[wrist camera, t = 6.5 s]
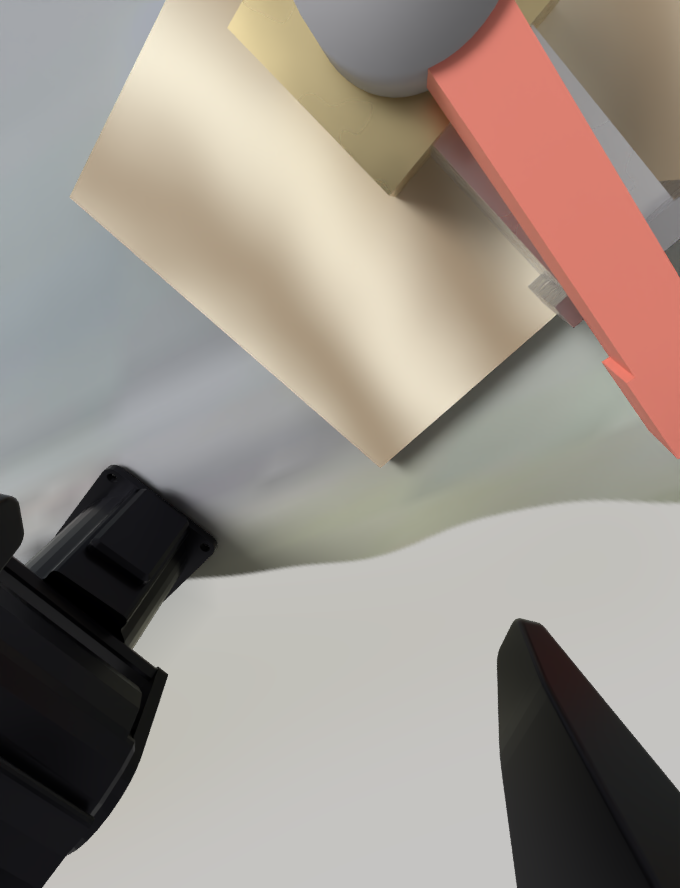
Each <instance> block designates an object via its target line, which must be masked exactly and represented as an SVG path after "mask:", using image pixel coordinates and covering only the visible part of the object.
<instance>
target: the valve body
mask: <svg viewBox="0 0 680 888" xmlns="http://www.w3.org/2000/svg"><path fill="white" fill-rule="evenodd" d="M559 1H560V0H515V2H516V4H517V5H518V7H519V9H520V10H521V12H522V14H523V15H524V17H525V19H526V20H527V22H528V24H529V25H530V27H531V29H532V30H533V32H534V34H535V35H536V37H537V39H538V41H539V42H540V44H541V46H542V47H543V49H544V51H545V52H546V54H547V56H548V57H549V59H550V61H551V62H552V64H553V66H554V67H555V69H556V71H557V72H558V74H559V76H560V77H561V79H562V81H563V82H564V84H565V86H566V88H567V89H568V91H569V93H570V94H571V96H572V98H573V99H574V101H575V103H576V104H577V106H578V108H579V109H580V111H581V113H582V114H583V116H584V118H585V119H586V121H587V123H588V124H589V126H590V128H591V129H592V131H593V133H594V135H595V136H596V138H597V140H598V141H599V143H600V145H601V146H602V148H603V150H604V151H605V153H606V155H607V156H608V158H609V160H610V161H611V163H612V165H613V166H614V168H615V170H616V171H617V173H618V175H619V176H620V178H621V180H622V182H623V183H624V185H625V187H626V188H627V190H628V192H629V193H630V195H631V197H632V198H633V200H634V202H635V203H636V205H637V207H638V208H639V210H640V212H641V213H642V215H643V217H644V218H645V220H646V222H647V223H648V225H649V227H650V229H651V230H652V232H653V234H654V235H655V237H656V239H657V240H658V242H659V244H660V245H661V247H662V249H663V250H664V251H666V250H667V249H668V248H669V247H670V246H672V245H673V244H674V243H675V242H676V241H677V240H679V239H680V179H679V180H668V181H658V180H657V178H656V177H655V176H654V175H653V173H652V172H651V171H650V170H649V168H648V167H647V166H646V165H645V163H644V162H643V161H642V160H641V159H640V157H639V156H638V155H637V154H636V152H635V151H634V150H633V149H632V147H631V146H630V145H629V144H628V142H627V141H626V140H625V139H624V137H623V136H622V135H621V134H620V132H619V131H618V130H617V129H616V127H615V126H614V125H613V124H612V122H611V121H610V120H609V119H608V117H607V116H606V115H605V114H604V112H603V111H602V110H601V109H600V107H599V106H598V105H597V104H596V103H595V101H594V100H593V99H592V98H591V96H590V95H589V94H588V93H587V91H586V90H585V89H584V88H583V86H582V85H581V84H580V83H579V81H578V80H577V79H576V78H575V76H574V75H573V74H572V73H571V71H570V70H569V69H568V68H567V66H566V65H565V64H564V63H563V61H562V60H561V59H560V58H559V56H558V55H557V54H556V53H555V51H554V50H553V49H552V48H551V46H550V45H549V44H548V43H547V42H546V40H545V39H544V38H543V37H542V35H541V34H540V33H539V32H538V30H537V28H538V27H539V25H540V24H541V23H542V22H543V21H544V19H545V18H546V17H547V16H548V15H549V13H550V12H551V11H552V10H553V9H554V7H555V6H556V5H557V3H558V2H559ZM227 28H228V29H229V30H230V31H231V32H232V33H233V34H234V35H235V36H236V38H237V39H238V40H239V41H240V42H241V43H242V44H243V45H244V46H245V47H246V48H247V49H248V50H249V51H250V52H251V53H252V54H253V55H254V56H255V57H256V58H257V59H258V60H259V61H260V62H261V63H262V64H263V66H264V67H265V68H266V69H267V70H268V71H269V72H270V73H271V74H272V75H273V76H274V77H275V78H276V79H277V80H278V81H279V82H280V83H281V84H282V85H283V86H284V87H285V88H286V89H287V90H288V91H289V92H290V93H291V95H292V96H293V97H294V98H295V99H296V100H297V101H298V102H299V103H300V104H301V105H302V106H303V107H304V108H305V109H306V110H307V111H308V112H309V113H310V114H311V115H312V116H313V117H314V118H315V119H316V120H317V121H318V123H319V124H320V125H321V126H322V127H323V128H324V129H325V130H326V131H327V132H328V133H329V134H330V135H331V136H332V137H333V138H334V139H335V140H336V141H337V142H338V143H339V144H340V145H341V146H342V147H343V148H344V149H345V151H346V152H347V153H348V154H349V155H350V156H351V157H352V158H353V159H354V160H355V161H356V162H357V163H358V164H359V165H360V166H361V167H362V168H363V169H364V170H365V171H366V172H367V173H368V174H369V175H370V176H371V177H372V179H373V180H374V181H375V182H376V183H377V184H378V185H379V186H380V187H381V188H382V189H383V190H384V191H385V192H386V193H387V194H388V195H389V196H393V197H396V196H397V195H398V194H399V193H400V192H401V190H402V189H403V188H404V187H405V186H406V184H407V183H408V182H409V181H410V180H411V179H412V177H413V176H414V175H415V174H416V173H417V171H418V170H419V169H420V168H421V167H422V165H423V164H424V163H425V162H426V161H427V159H428V158H429V157H430V156H431V157H432V158H433V159H434V160H435V161H436V162H437V163H438V164H439V165H440V166H441V168H442V169H443V170H444V171H445V172H446V173H447V174H448V175H449V176H450V177H451V178H452V180H453V181H454V182H455V183H456V184H457V185H458V186H459V187H460V188H461V189H462V190H463V192H464V193H465V194H466V195H467V196H468V197H469V198H470V199H471V200H472V201H473V202H474V203H475V205H476V206H477V207H478V208H479V209H480V210H481V211H482V212H483V213H484V214H485V215H486V217H487V218H488V219H489V220H490V221H491V222H492V223H493V224H494V225H495V226H496V227H497V228H498V230H499V231H500V232H501V233H502V234H503V235H504V236H505V237H506V238H507V239H508V240H509V242H510V243H511V244H512V245H513V246H514V247H515V248H516V249H517V250H518V251H519V252H520V253H521V255H522V256H523V257H524V258H525V259H526V260H527V261H528V262H529V263H530V264H531V265H532V267H533V268H534V269H535V270H536V271H537V272H538V273H539V274H540V276H539V277H538V278H536V279H535V280H534V281H533V282H532V283H531V284H530V285H529V286H528V288H529V289H530V290H531V291H532V292H533V293H534V294H535V295H536V296H537V297H538V298H539V299H540V300H541V302H542V303H543V304H545V305H546V306H547V307H548V308H550V309H551V310H552V311H553V312H554V313H556V314H557V315H558V316H559V317H561V318H562V319H563V320H564V321H566V322H567V323H568V324H569V325H571V326H572V327H573V328H574V327H575V326H576V325H578V324H579V323H580V322H581V321H582V320H584V319H583V317H582V316H581V314H580V313H579V311H578V310H577V308H576V307H575V305H574V304H573V302H572V301H571V299H570V298H569V297H568V295H567V294H566V292H565V291H564V289H563V288H562V286H561V285H560V283H559V282H558V280H557V279H556V277H555V276H554V274H553V273H552V271H551V270H550V269H549V267H548V266H547V264H546V263H545V261H544V260H543V258H542V257H541V255H540V254H539V252H538V251H537V249H536V248H535V246H534V245H533V243H532V242H531V240H530V239H529V238H528V236H527V235H526V233H525V232H524V230H523V229H522V227H521V226H520V224H519V223H518V221H517V220H516V218H515V217H514V215H513V214H512V212H511V211H510V210H509V208H508V207H507V205H506V204H505V202H504V201H503V199H502V198H501V196H500V195H499V193H498V192H497V190H496V189H495V187H494V186H493V184H492V183H491V182H490V180H489V179H488V177H487V176H486V174H485V173H484V171H483V170H482V168H481V167H480V165H479V164H478V162H477V161H476V159H475V158H474V156H473V155H472V154H471V152H470V151H469V149H468V148H467V146H466V145H465V143H464V142H463V140H462V139H461V137H460V136H459V134H458V133H457V131H456V130H455V128H454V127H453V125H452V124H451V123H450V121H449V120H448V118H447V117H446V115H445V114H444V112H443V111H442V109H441V108H440V106H439V105H438V103H437V102H436V100H435V99H434V97H433V96H432V95H431V93H430V92H429V90H428V91H426V92H423V93H420V94H417V95H413V96H408V97H397V98H391V97H383V96H378V95H375V94H371V93H368V92H366V91H364V90H362V89H360V88H358V87H356V86H355V85H353V84H352V83H351V82H349V81H348V80H347V79H346V78H344V77H343V76H342V75H341V74H340V73H339V72H338V71H337V70H336V68H335V67H334V66H333V65H332V64H331V62H330V61H329V59H328V58H327V56H326V55H325V53H324V51H323V50H322V48H321V47H320V45H319V43H318V42H317V40H316V39H315V37H314V35H313V34H312V32H311V31H310V29H309V27H308V26H307V24H306V23H305V21H304V20H303V18H302V16H301V15H300V13H299V11H298V9H297V6H296V4H295V2H294V0H242V2H241V4H240V6H239V8H238V9H237V11H236V13H235V15H234V17H233V18H232V20H231V22H230V24H229V26H228V27H227Z"/></svg>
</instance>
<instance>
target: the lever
mask: <svg viewBox="0 0 680 888" xmlns="http://www.w3.org/2000/svg"><path fill="white" fill-rule="evenodd" d="M294 2H295V4H296V6H297V9H298V11H299V13H300V15H301V16H302V18H303V20H304V21H305V23H306V24H307V26H308V27H309V29H310V31H311V32H312V34H313V35H314V37H315V39H316V40H317V42H318V43H319V45H320V47H321V48H322V50H323V51H324V53H325V55H326V56H327V58H328V59H329V61H330V62H331V64H332V65H333V66H334V67H335V68H336V70H337V71H338V72H339V73H340V74H341V75H342V76H343V77H344V78H346V79H347V80H348V81H349V82H351V83H352V84H353V85H355V86H356V87H358V88H360V89H362V90H364V91H366V92H368V93H371V94H375V95H378V96H383V97H391V98H397V97H408V96H413V95H417V94H420V93H423V92H426V91H428V90H429V92H430V93H431V95H432V96H433V97H434V99H435V100H436V102H437V103H438V105H439V106H440V108H441V109H442V111H443V112H444V114H445V115H446V117H447V118H448V120H449V121H450V123H451V124H452V125H453V127H454V128H455V130H456V131H457V133H458V134H459V136H460V137H461V139H462V140H463V142H464V143H465V145H466V146H467V148H468V149H469V151H470V152H471V154H472V155H473V156H474V158H475V159H476V161H477V162H478V164H479V165H480V167H481V168H482V170H483V171H484V173H485V174H486V176H487V177H488V179H489V180H490V182H491V183H492V184H493V186H494V187H495V189H496V190H497V192H498V193H499V195H500V196H501V198H502V199H503V201H504V202H505V204H506V205H507V207H508V208H509V210H510V211H511V212H512V214H513V215H514V217H515V218H516V220H517V221H518V223H519V224H520V226H521V227H522V229H523V230H524V232H525V233H526V235H527V236H528V238H529V239H530V240H531V242H532V243H533V245H534V246H535V248H536V249H537V251H538V252H539V254H540V255H541V257H542V258H543V260H544V261H545V263H546V264H547V266H548V267H549V269H550V270H551V271H552V273H553V274H554V276H555V277H556V279H557V280H558V282H559V283H560V285H561V286H562V288H563V289H564V291H565V292H566V294H567V295H568V297H569V298H570V299H571V301H572V302H573V304H574V305H575V307H576V308H577V310H578V311H579V313H580V314H581V316H582V317H583V319H584V320H585V322H586V323H587V325H588V326H589V327H590V329H591V330H592V332H593V333H594V335H595V336H596V338H597V339H598V341H599V342H600V344H601V345H602V347H603V348H604V350H605V351H606V353H607V354H608V356H609V357H608V358H607V359H605V360H604V361H602V363H603V364H604V366H605V367H606V369H607V370H608V372H609V373H610V375H611V376H612V377H613V379H614V380H615V382H616V383H617V385H618V386H619V388H620V389H621V391H622V392H623V393H624V395H625V396H626V398H627V399H628V401H629V402H630V404H631V405H632V407H633V408H634V410H635V411H636V412H637V414H638V415H639V417H640V418H641V420H642V421H643V423H644V424H645V426H646V427H647V428H648V430H649V431H650V432H651V433H652V434H653V435H654V436H655V437H656V438H657V439H658V440H659V441H660V442H661V443H662V444H663V445H664V446H665V447H666V448H667V449H668V450H669V451H670V452H671V453H672V454H673V455H674V456H675V457H676V458H677V459H680V277H679V276H678V274H677V272H676V270H675V269H674V267H673V265H672V264H671V262H670V260H669V259H668V257H667V255H666V254H665V252H664V250H663V249H662V247H661V245H660V244H659V242H658V240H657V239H656V237H655V235H654V234H653V232H652V230H651V229H650V227H649V225H648V223H647V222H646V220H645V218H644V217H643V215H642V213H641V212H640V210H639V208H638V207H637V205H636V203H635V202H634V200H633V198H632V197H631V195H630V193H629V192H628V190H627V188H626V187H625V185H624V183H623V182H622V180H621V178H620V176H619V175H618V173H617V171H616V170H615V168H614V166H613V165H612V163H611V161H610V160H609V158H608V156H607V155H606V153H605V151H604V150H603V148H602V146H601V145H600V143H599V141H598V140H597V138H596V136H595V135H594V133H593V131H592V129H591V128H590V126H589V124H588V123H587V121H586V119H585V118H584V116H583V114H582V113H581V111H580V109H579V108H578V106H577V104H576V103H575V101H574V99H573V98H572V96H571V94H570V93H569V91H568V89H567V88H566V86H565V84H564V82H563V81H562V79H561V77H560V76H559V74H558V72H557V71H556V69H555V67H554V66H553V64H552V62H551V61H550V59H549V57H548V56H547V54H546V52H545V51H544V49H543V47H542V46H541V44H540V42H539V41H538V39H537V37H536V35H535V34H534V32H533V30H532V29H531V27H530V25H529V24H528V22H527V20H526V19H525V17H524V15H523V14H522V12H521V10H520V9H519V7H518V5H517V4H516V2H515V0H294Z"/></svg>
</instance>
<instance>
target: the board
mask: <svg viewBox="0 0 680 888" xmlns="http://www.w3.org/2000/svg"><path fill="white" fill-rule="evenodd" d="M241 2H242V0H166V1H165V3H164V5H163V7H162V9H161V11H160V13H159V15H158V17H157V19H156V22H155V24H154V26H153V28H152V30H151V32H150V34H149V36H148V38H147V40H146V42H145V44H144V46H143V48H142V50H141V52H140V54H139V56H138V58H137V60H136V62H135V64H134V66H133V68H132V70H131V73H130V75H129V77H128V79H127V81H126V83H125V85H124V87H123V89H122V91H121V93H120V95H119V97H118V99H117V101H116V103H115V105H114V107H113V109H112V111H111V113H110V115H109V117H108V119H107V121H106V124H105V126H104V128H103V130H102V132H101V134H100V136H99V138H98V140H97V142H96V144H95V146H94V148H93V150H92V152H91V154H90V156H89V158H88V160H87V162H86V164H85V166H84V168H83V170H82V173H81V175H80V177H79V179H78V181H77V183H76V185H75V187H74V189H73V191H72V193H71V195H70V198H71V199H72V200H73V201H74V202H76V203H77V204H78V205H79V206H80V207H81V208H82V209H84V210H85V211H86V212H87V213H88V214H89V215H91V216H92V217H93V218H94V219H95V220H96V221H97V222H99V223H100V224H101V225H102V226H103V227H104V228H105V229H107V230H108V231H109V232H110V233H111V234H112V235H113V236H115V237H116V238H117V239H118V240H119V241H120V242H122V243H123V244H124V245H125V246H126V247H127V248H128V249H130V250H131V251H132V252H133V253H134V254H135V255H136V256H138V257H139V258H140V259H141V260H142V261H143V262H144V263H146V264H147V265H148V266H149V267H150V268H151V269H153V270H154V271H155V272H156V273H157V274H158V275H159V276H161V277H162V278H163V279H164V280H165V281H166V282H167V283H169V284H170V285H171V286H172V287H173V288H174V289H175V290H177V291H178V292H179V293H180V294H181V295H182V296H184V297H185V298H186V299H187V300H188V301H189V302H190V303H192V304H193V305H194V306H195V307H196V308H197V309H198V310H200V311H201V312H202V313H203V314H204V315H205V316H206V317H208V318H209V319H210V320H211V321H212V322H213V323H215V324H216V325H217V326H218V327H219V328H220V329H221V330H223V331H224V332H225V333H226V334H227V335H228V336H229V337H231V338H232V339H233V340H234V341H235V342H236V343H237V344H239V345H240V346H241V347H242V348H243V349H244V350H246V351H247V352H248V353H249V354H250V355H251V356H252V357H254V358H255V359H256V360H257V361H258V362H259V363H260V364H262V365H263V366H264V367H265V368H266V369H267V370H268V371H270V372H271V373H272V374H273V375H274V376H275V377H277V378H278V379H279V380H280V381H281V382H282V383H283V384H285V385H286V386H287V387H288V388H289V389H290V390H291V391H293V392H294V393H295V394H296V395H297V396H298V397H299V398H301V399H302V400H303V401H304V402H305V403H306V404H308V405H309V406H310V407H311V408H312V409H313V410H314V411H316V412H317V413H318V414H319V415H320V416H321V417H322V418H324V419H325V420H326V421H327V422H328V423H329V424H330V425H332V426H333V427H334V428H335V429H336V430H337V431H339V432H340V433H341V434H342V435H343V436H344V437H345V438H347V439H348V440H349V441H350V442H351V443H352V444H353V445H355V446H356V447H357V448H358V449H359V450H360V451H361V452H363V453H364V454H365V455H366V456H367V457H368V458H370V459H371V460H372V461H373V462H374V463H375V464H376V465H378V466H379V467H380V468H381V467H382V466H383V465H385V464H386V463H387V462H388V461H389V460H390V459H391V458H393V457H394V456H395V455H396V454H397V453H398V452H400V451H401V450H402V449H403V448H404V447H405V446H406V445H408V444H409V443H410V442H411V441H412V440H413V439H414V438H416V437H417V436H418V435H419V434H420V433H421V432H422V431H424V430H425V429H426V428H427V427H428V426H429V425H431V424H432V423H433V422H434V421H435V420H436V419H437V418H439V417H440V416H441V415H442V414H443V413H444V412H445V411H447V410H448V409H449V408H450V407H451V406H452V405H453V404H455V403H456V402H457V401H458V400H459V399H460V398H462V397H463V396H464V395H465V394H466V393H467V392H468V391H470V390H471V389H472V388H473V387H474V386H475V385H476V384H478V383H479V382H480V381H481V380H482V379H483V378H485V377H486V376H487V375H488V374H489V373H490V372H491V371H493V370H494V369H495V368H496V367H497V366H498V365H499V364H501V363H502V362H503V361H504V360H505V359H506V358H507V357H509V356H510V355H511V354H512V353H513V352H514V351H516V350H517V349H518V348H519V347H520V346H521V345H522V344H524V343H525V342H526V341H527V340H528V339H529V338H530V337H532V336H533V335H534V334H535V333H536V332H537V331H539V330H540V329H541V328H542V327H543V326H544V325H545V324H547V323H548V322H549V321H550V320H551V319H552V318H553V317H555V316H556V315H557V314H556V313H554V312H553V311H552V310H551V309H550V308H548V307H547V306H546V305H545V304H543V303H542V302H541V300H540V299H539V298H538V297H537V296H536V295H535V294H534V293H533V292H532V291H531V290H530V289H529V288H528V286H529V285H530V284H531V283H532V282H533V281H534V280H535V279H536V278H538V277H539V276H540V274H539V273H538V272H537V271H536V270H535V269H534V268H533V267H532V265H531V264H530V263H529V262H528V261H527V260H526V259H525V258H524V257H523V256H522V255H521V253H520V252H519V251H518V250H517V249H516V248H515V247H514V246H513V245H512V244H511V243H510V242H509V240H508V239H507V238H506V237H505V236H504V235H503V234H502V233H501V232H500V231H499V230H498V228H497V227H496V226H495V225H494V224H493V223H492V222H491V221H490V220H489V219H488V218H487V217H486V215H485V214H484V213H483V212H482V211H481V210H480V209H479V208H478V207H477V206H476V205H475V203H474V202H473V201H472V200H471V199H470V198H469V197H468V196H467V195H466V194H465V193H464V192H463V190H462V189H461V188H460V187H459V186H458V185H457V184H456V183H455V182H454V181H453V180H452V178H451V177H450V176H449V175H448V174H447V173H446V172H445V171H444V170H443V169H442V168H441V166H440V165H439V164H438V163H437V162H436V161H435V160H434V159H433V158H432V157H431V156H430V157H429V158H428V159H427V161H426V162H425V163H424V164H423V165H422V167H421V168H420V169H419V170H418V171H417V173H416V174H415V175H414V176H413V177H412V179H411V180H410V181H409V182H408V183H407V184H406V186H405V187H404V188H403V189H402V190H401V192H400V193H399V194H398V195H397V196H396V197H393V196H389V195H388V194H387V193H386V192H385V191H384V190H383V189H382V188H381V187H380V186H379V185H378V184H377V183H376V182H375V181H374V180H373V179H372V177H371V176H370V175H369V174H368V173H367V172H366V171H365V170H364V169H363V168H362V167H361V166H360V165H359V164H358V163H357V162H356V161H355V160H354V159H353V158H352V157H351V156H350V155H349V154H348V153H347V152H346V151H345V149H344V148H343V147H342V146H341V145H340V144H339V143H338V142H337V141H336V140H335V139H334V138H333V137H332V136H331V135H330V134H329V133H328V132H327V131H326V130H325V129H324V128H323V127H322V126H321V125H320V124H319V123H318V121H317V120H316V119H315V118H314V117H313V116H312V115H311V114H310V113H309V112H308V111H307V110H306V109H305V108H304V107H303V106H302V105H301V104H300V103H299V102H298V101H297V100H296V99H295V98H294V97H293V96H292V95H291V93H290V92H289V91H288V90H287V89H286V88H285V87H284V86H283V85H282V84H281V83H280V82H279V81H278V80H277V79H276V78H275V77H274V76H273V75H272V74H271V73H270V72H269V71H268V70H267V69H266V68H265V67H264V66H263V64H262V63H261V62H260V61H259V60H258V59H257V58H256V57H255V56H254V55H253V54H252V53H251V52H250V51H249V50H248V49H247V48H246V47H245V46H244V45H243V44H242V43H241V42H240V41H239V40H238V39H237V38H236V36H235V35H234V34H233V33H232V32H231V31H230V30H229V29H228V28H227V27H228V26H229V24H230V22H231V20H232V18H233V17H234V15H235V13H236V11H237V9H238V8H239V6H240V4H241ZM537 30H538V32H539V33H540V34H541V35H542V37H543V38H544V39H545V40H546V42H547V43H548V44H549V45H550V46H551V48H552V49H553V50H554V51H555V53H556V54H557V55H558V56H559V58H560V59H561V60H562V61H563V63H564V64H565V65H566V66H567V68H568V69H569V70H570V71H571V73H572V74H573V75H574V76H575V78H576V79H577V80H578V81H579V83H580V84H581V85H582V86H583V88H584V89H585V90H586V91H587V93H588V94H589V95H590V96H591V98H592V99H593V100H594V101H595V103H596V104H597V105H598V106H599V107H600V109H601V110H602V111H603V112H604V114H605V115H606V116H607V117H608V119H609V120H610V121H611V122H612V124H613V125H614V126H615V127H616V129H617V130H618V131H619V132H620V134H621V135H622V136H623V137H624V139H625V140H626V141H627V142H628V144H629V145H630V146H631V147H632V149H633V150H634V151H635V152H636V154H637V155H638V156H639V157H640V159H641V160H642V161H643V162H644V163H645V165H646V166H647V167H648V168H649V170H650V171H651V172H652V173H653V175H654V176H655V177H656V178H657V180H658V181H668V180H679V179H680V0H560V1H559V2H558V3H557V5H556V6H555V7H554V9H553V10H552V11H551V12H550V13H549V15H548V16H547V17H546V18H545V19H544V21H543V22H542V23H541V24H540V25H539V27H538V28H537Z"/></svg>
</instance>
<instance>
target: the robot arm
mask: <svg viewBox="0 0 680 888" xmlns="http://www.w3.org/2000/svg"><path fill="white" fill-rule="evenodd" d="M112 474H114V475H115V476H116V478H115V477H114V476H113V475H112ZM23 537H24V529H23V523H22V518H21V512H20V506H19V502H18V501H17V499H16V498H14V497H12V496H9V495H4V494H0V888H42V887H43V886H44V884H45V883H46V882H47V880H48V879H49V878H50V876H51V875H52V874H53V872H54V871H55V870H56V868H57V867H58V866H59V864H60V863H61V862H62V860H63V859H64V858H65V856H67V855H69V854H71V853H72V852H74V851H76V850H77V849H78V848H80V847H81V846H82V845H83V844H84V843H85V842H86V841H88V839H89V838H90V837H91V836H92V835H93V834H94V833H95V832H96V831H97V830H98V828H99V827H100V826H101V825H102V824H103V822H104V821H105V820H106V819H107V817H108V816H109V815H110V813H111V812H112V810H113V809H114V807H115V806H116V804H117V803H118V802H119V800H120V799H121V797H122V795H123V794H124V792H125V790H126V788H127V787H128V785H129V783H130V781H131V779H132V777H133V775H134V773H135V771H136V769H137V767H138V764H139V762H140V759H141V756H142V753H143V750H144V747H145V744H146V741H147V738H148V735H149V732H150V729H151V726H152V723H153V720H154V717H155V713H156V711H157V707H158V704H159V701H160V698H161V695H162V692H163V689H164V686H165V683H166V680H167V677H168V674H167V673H166V672H164V671H163V670H162V669H160V668H159V667H157V668H155V667H154V666H153V665H151V664H150V663H149V662H147V661H146V660H145V659H144V658H143V657H141V656H140V655H139V654H137V653H136V652H135V651H134V650H132V649H133V648H134V646H135V645H136V643H137V642H138V640H139V638H140V637H141V635H142V634H143V632H144V631H145V629H146V627H147V626H148V624H149V623H150V621H151V620H152V618H153V616H154V615H155V613H156V612H157V610H158V609H159V607H160V606H161V604H162V602H163V601H165V600H166V599H167V597H168V596H170V595H171V594H172V593H173V592H174V591H175V590H176V589H177V588H178V587H179V586H180V585H181V584H182V583H183V582H184V581H185V580H186V579H187V578H188V577H189V576H190V575H191V574H192V573H193V572H194V571H195V570H196V569H197V568H199V567H200V566H201V565H202V564H203V563H204V562H205V561H206V560H207V559H208V558H209V557H210V556H211V555H212V554H213V553H214V551H215V549H216V547H217V541H216V539H215V538H214V537H213V536H211V535H210V534H209V533H207V532H206V531H205V530H203V529H202V528H201V527H199V526H198V525H197V524H195V523H194V522H193V521H191V520H190V519H189V518H187V517H186V516H185V515H183V514H182V513H181V512H179V511H178V510H177V509H175V508H174V507H173V506H171V505H170V504H169V503H168V502H166V501H165V500H164V499H162V498H161V497H160V496H158V495H157V494H156V493H154V492H153V491H152V490H150V489H149V488H148V487H146V486H145V485H144V484H142V483H141V482H140V481H138V480H137V479H136V478H134V477H133V476H132V475H130V474H129V473H128V472H126V471H125V470H124V469H123V468H121V467H119V466H117V465H110V466H109V467H108V468H106V469H105V470H104V471H103V472H102V473H101V475H100V476H99V478H98V479H97V480H96V482H95V483H94V484H93V486H92V487H91V488H90V490H89V491H88V492H87V494H86V495H85V496H84V498H83V499H82V500H81V502H80V503H79V505H78V506H77V507H76V509H75V510H74V511H73V513H72V514H71V515H70V517H69V518H68V519H67V521H66V522H65V523H64V525H63V526H62V527H61V529H60V530H59V532H58V533H57V534H56V536H55V537H54V538H53V539H52V540H51V541H50V542H49V543H48V544H47V545H46V546H45V547H44V548H43V549H41V550H40V551H39V552H38V553H37V554H36V555H35V556H34V557H33V558H32V559H31V560H29V561H28V562H27V563H26V564H25V565H24V564H22V563H21V562H20V561H19V560H17V559H16V558H15V557H14V556H13V555H14V553H15V552H16V551H17V549H18V548H19V546H20V545H21V543H22V540H23ZM205 544H207V545H208V546H206V545H205ZM497 679H498V680H497V681H498V715H499V716H498V717H499V748H500V761H501V770H502V778H503V785H504V793H505V801H506V808H507V816H508V823H509V831H510V838H511V845H512V853H513V861H514V868H515V876H516V883H517V888H680V792H679V791H678V789H677V788H676V787H675V786H674V784H673V783H672V782H671V781H670V780H669V778H668V777H667V776H666V775H665V773H664V772H663V771H662V770H661V769H660V767H659V766H658V765H657V764H656V763H655V761H654V760H653V759H652V758H651V756H650V755H649V754H648V753H647V752H646V750H645V749H644V748H643V747H642V745H641V744H640V743H639V742H638V741H637V739H636V738H635V737H634V736H633V734H632V733H631V732H630V731H629V730H628V729H627V727H626V726H625V725H624V724H623V722H622V721H621V720H620V719H619V718H618V716H617V715H616V714H615V713H614V711H613V710H612V709H611V708H610V707H609V705H608V704H607V703H606V702H605V701H604V699H603V698H602V697H601V696H600V694H599V693H598V692H597V691H596V689H595V688H594V687H593V686H592V685H591V683H590V682H589V681H588V680H587V679H586V677H585V676H584V675H583V674H582V672H581V671H580V670H579V669H578V668H577V666H576V665H575V664H574V663H573V661H572V660H571V659H570V658H569V657H568V655H567V654H566V653H565V652H564V650H563V649H562V648H561V647H560V646H559V644H558V643H557V642H556V641H555V640H554V638H553V637H552V636H551V635H550V633H549V632H548V631H547V630H546V629H545V627H544V626H543V625H541V624H540V623H537V622H533V621H529V620H525V619H521V618H519V619H516V620H515V621H514V622H513V623H512V625H511V627H510V629H509V631H508V633H507V635H506V637H505V639H504V641H503V643H502V645H501V647H500V649H499V652H498V657H497Z"/></svg>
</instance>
